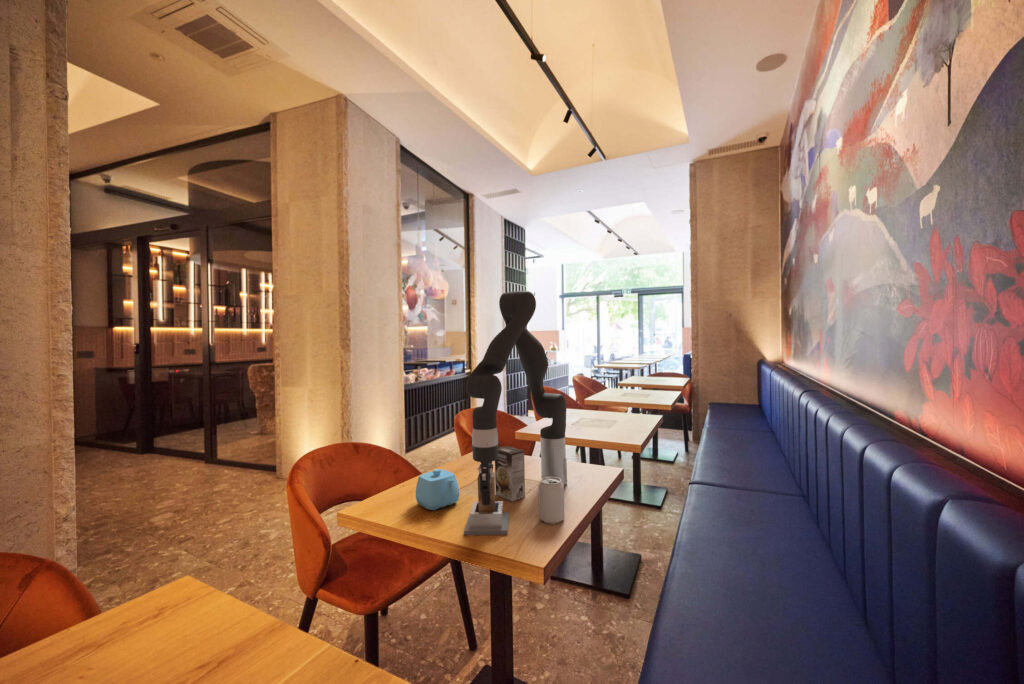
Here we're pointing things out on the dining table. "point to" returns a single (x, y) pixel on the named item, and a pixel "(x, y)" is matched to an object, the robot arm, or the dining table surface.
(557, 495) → the can
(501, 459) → the coffee box
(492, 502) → the long tan beam
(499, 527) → the dock
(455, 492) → the teapot
